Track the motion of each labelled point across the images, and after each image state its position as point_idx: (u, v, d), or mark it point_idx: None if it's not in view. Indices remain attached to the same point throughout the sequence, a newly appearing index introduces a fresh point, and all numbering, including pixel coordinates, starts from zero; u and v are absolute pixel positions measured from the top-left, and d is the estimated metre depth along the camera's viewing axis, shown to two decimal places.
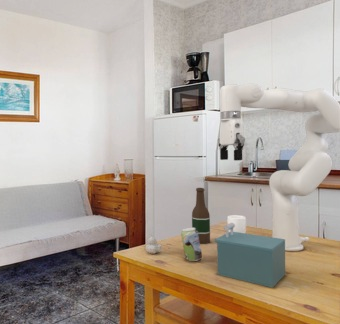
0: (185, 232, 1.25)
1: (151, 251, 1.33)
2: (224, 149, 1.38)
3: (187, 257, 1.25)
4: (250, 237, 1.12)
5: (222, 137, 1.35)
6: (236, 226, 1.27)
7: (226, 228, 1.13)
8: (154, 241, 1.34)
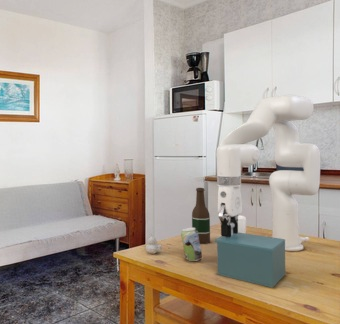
0: (185, 232, 1.25)
1: (151, 251, 1.33)
2: (232, 221, 1.17)
3: (187, 257, 1.25)
4: (250, 237, 1.12)
5: None
6: None
7: None
8: (154, 241, 1.34)
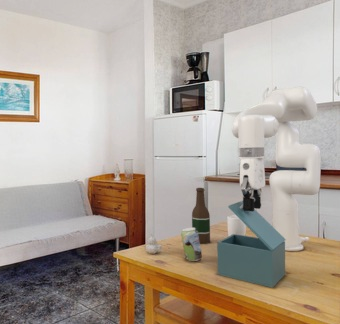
0: (185, 232, 1.25)
1: (151, 251, 1.33)
2: (254, 195, 1.11)
3: (187, 257, 1.25)
4: (259, 220, 1.10)
5: None
6: (236, 226, 1.27)
7: None
8: (154, 241, 1.34)
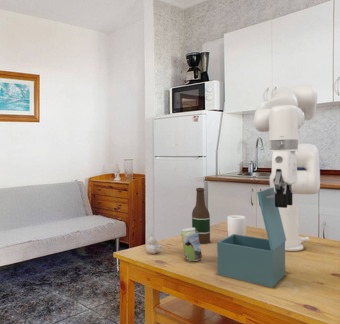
0: (185, 232, 1.25)
1: (151, 251, 1.33)
2: (286, 191, 1.05)
3: (187, 257, 1.25)
4: (275, 214, 1.07)
5: None
6: (236, 226, 1.27)
7: None
8: (154, 241, 1.34)
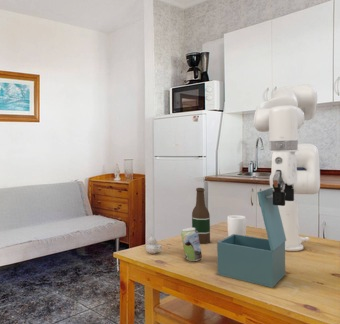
0: (185, 232, 1.25)
1: (151, 251, 1.33)
2: (287, 187, 1.06)
3: (187, 257, 1.25)
4: (275, 214, 1.07)
5: None
6: (236, 226, 1.27)
7: None
8: (154, 241, 1.34)
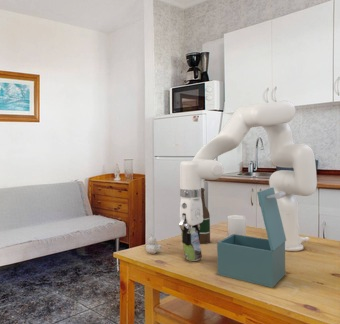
0: None
1: (151, 251, 1.33)
2: None
3: (187, 257, 1.25)
4: (275, 214, 1.07)
5: None
6: (236, 226, 1.27)
7: (276, 196, 1.02)
8: (154, 241, 1.34)
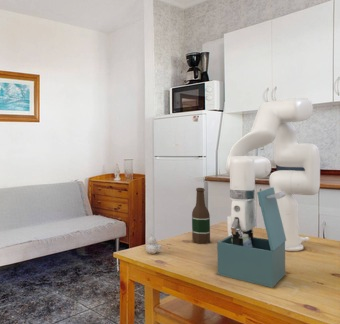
0: None
1: (151, 251, 1.33)
2: (247, 231, 1.15)
3: None
4: (275, 214, 1.07)
5: None
6: None
7: (276, 196, 1.02)
8: (154, 241, 1.34)
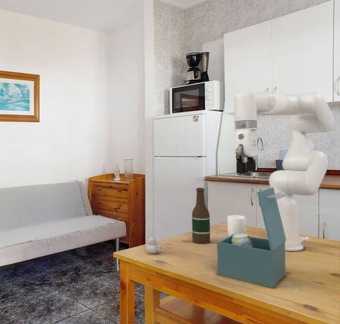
0: (237, 239, 1.11)
1: (151, 251, 1.33)
2: (250, 160, 1.28)
3: None
4: (275, 214, 1.07)
5: None
6: (236, 226, 1.27)
7: (276, 196, 1.02)
8: (154, 241, 1.34)
